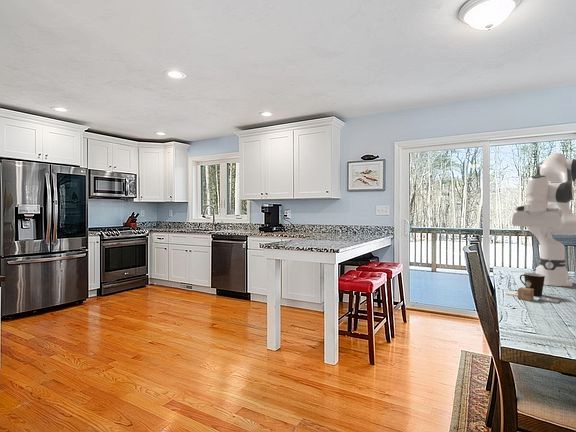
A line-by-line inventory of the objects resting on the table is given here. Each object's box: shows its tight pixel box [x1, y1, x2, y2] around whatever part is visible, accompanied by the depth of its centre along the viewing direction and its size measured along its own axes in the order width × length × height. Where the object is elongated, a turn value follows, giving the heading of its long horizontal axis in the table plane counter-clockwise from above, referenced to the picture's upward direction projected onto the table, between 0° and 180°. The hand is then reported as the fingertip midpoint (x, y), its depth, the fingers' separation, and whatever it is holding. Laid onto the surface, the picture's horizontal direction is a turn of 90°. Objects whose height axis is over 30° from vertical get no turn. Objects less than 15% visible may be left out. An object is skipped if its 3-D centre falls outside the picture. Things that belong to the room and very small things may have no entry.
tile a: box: [537, 296, 561, 304], centre depth 165 cm, size 7×7×1 cm
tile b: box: [505, 291, 518, 298], centre depth 176 cm, size 7×7×1 cm
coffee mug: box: [519, 272, 545, 297], centre depth 178 cm, size 12×9×10 cm
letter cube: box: [517, 286, 535, 302], centre depth 168 cm, size 5×5×5 cm
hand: (535, 236), depth 175 cm, fingers open, 8 cm apart
